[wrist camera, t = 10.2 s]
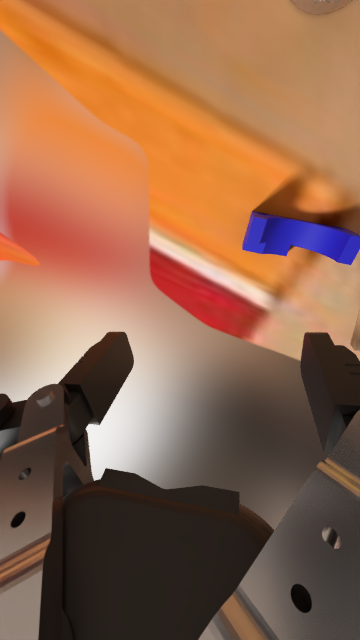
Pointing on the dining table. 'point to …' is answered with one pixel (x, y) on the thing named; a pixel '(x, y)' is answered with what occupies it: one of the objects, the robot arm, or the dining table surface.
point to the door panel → (356, 335)
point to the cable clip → (299, 237)
